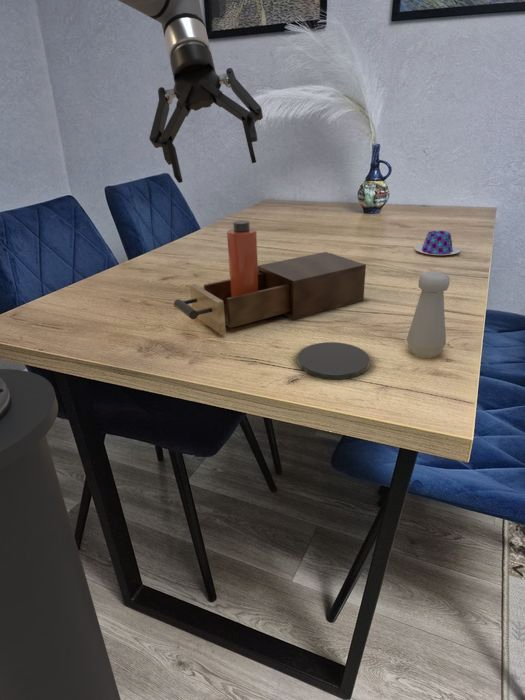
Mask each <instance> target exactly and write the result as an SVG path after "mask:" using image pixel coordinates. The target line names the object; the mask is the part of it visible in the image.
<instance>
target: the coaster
mask: <svg viewBox="0 0 525 700" xmlns="http://www.w3.org/2000/svg"><path fill="white" fill-rule="evenodd" d="M296 359H297V365H298V367H299V368H300V369H301V370H302V371H303V372H304V373H306V374H308V375H310V376H313V377H316V378H320V379H326V380H346V379H352V378H355V377H358V376H361V375H363V374H364V373H365V372H367V370H368V369H369V367H370V365H371V364H370V362H371V361H370V360H371V359H370V356H369V355H368V353H367V352H366V351H365V350H363V349H362V348H360V347H358V346H355V345H352V344H349V343H345V342H343V343H342V342H334V341H333V342H332V341H331V342H330V341H329V342H326V341H325V342H318V343H314V344H310V345H307V346H305V347H304V348H302V349H301V350H300V351H299V352H298V354H297V358H296Z"/></svg>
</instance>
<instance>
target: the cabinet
mask: <svg viewBox="0 0 525 700" xmlns="http://www.w3.org/2000/svg"><path fill="white" fill-rule="evenodd" d="M366 270H367V264H365V263H363V262H359V261H357V260H353V259H351V258H350V259H349V258H347V257H343V256H340V255H337V254H334V253H331V252H327V251H324V252H319V253H318V252H317V253H313V254H309V255H303V256H298V257H294V258H289V259H284V260H279V261H274V262H269V263H264V264H258V273H261V272H264V273H267V274H269V275H271V276H274V277H276V278H278V279H280V280H283V281H285V282H287V283H289V284H291V312H288V313H284V314H283V316H286V317H287V318H289V319H290V320H293V321H295V320H299V319H302V318H305V317H310V316H313V315H317V314H320V313H324V312H327V311H331V310H335V309H338V308H343V307H345V306H349V305H352V304H356V303H360V302H364V297H365V284H366V283H365V282H366Z"/></svg>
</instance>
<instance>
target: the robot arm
mask: <svg viewBox="0 0 525 700" xmlns="http://www.w3.org/2000/svg"><path fill="white" fill-rule="evenodd" d="M118 2H120V3H123V4H124V5H126V6H128V7H130V8H132V9H134V10H136V11H138V12H140V13H142V14H144V15H145V16H147V17H149V18H151V19H153V20H154V21H157V22H158V23H160V24H161V27H162V30H163V31H162V32H163V36H164V40H165V45H166V49H167V54H168V59H169V63H170V69H171V73H172V76H173V81H174V85H173V88H169V89H165V88H164V87H163V86H161V87H158V89H157V95H158V102H157V107H156V109H155V110H156V111H155V114H154V115H155V116H154V117H153V121H152V126H151V130H150V134H149V141H150V142H151V144H152V146H153V147H154V148H156V149H158V148H161V149H162V153H163V158H164V160H165V162H166V163H167V165H169V166H170V165H171V167H172V172H173V177H174V178H175V180H176V181H177V183H178V184H181V183H183V182H184V181H183V176H182V172H181V168H180V167H181V166H180V164H179V158H178V154H177V153H178V152H177V150H176V149H177V148H176V147H175V144H174V143H173V142H174V141H175V139H176V136H177V135H178V133H179V131H180V129H181V127H182V125H183V123H184V122H185V119H186V118H187V117H188V116H189V114H190V112H191V111H194V112H196V111H199V110H201V109H202V108H203V109H204V108H206V109H207V108H210V107H212V105H213V104H214V105H216V106H217V107H219V108H222V109H223V110H225V111H227V112H228V113H230V114H231V115H232V116H233V117H235V118H236V119H238V120H240V121H241V122H242V126H243V132H244V136H245V140H246V144H247V149H248V152H249V156H250V161H251V164H255V163H257V159H256V155H255V150H254V146H253V143H255V142H258V133H257V129H256V122H257V121H262V120H263V117H264V115H263V110H262V107H261V105H260V104H259V103H258V102H257V100H256V99H254V97H253V96H252V95H251V93H249V91H247V89H246V88H245V87H244V86H243V85H242V84H241V82H240V81H239V80H238V79H237V78H236V75H235V72H234V69H233V68H232V67H228V68H226V70H225V73H222V74H220V75H218V74H217V72H216V68H215V63H214V59H213V53H212V51H211V46H210V41H209V37H208V33H207V29H206V25H205V22H204V17H203V12H202V7H201V2H200V0H118ZM222 85H225V87H227V88H228V89H231V90H232V92H233V93H234V95H235V96H236V97H237V98H238V99H239V100H240V102H241V103H242V104H243V105H244V106H245V107H246V108H247V109H246V108H245V107H243V106H242V105H240V104H239V103H237V102H236V101H235V100H234V99H232V98H231V97H229V96H227V95H226V94H225V93H223V91H221V90H220V89H221V87H222ZM174 98H176V99H177V102H176V106H175V109H174V110H173V112H172V114H171V116H170V118H169V120H168V116H169V112H170V105H172V104H173V100H174ZM167 121H168V122H167ZM11 403H12V400H11V396H10V393H9V390H8V388H7V386H6V384H5V383H4V381H3V380H2V379H1V378H0V420H1V419H2V418H3V417H4V416H5V415H6V413H7V412H8V411H9V409H10V407H11Z"/></svg>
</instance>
